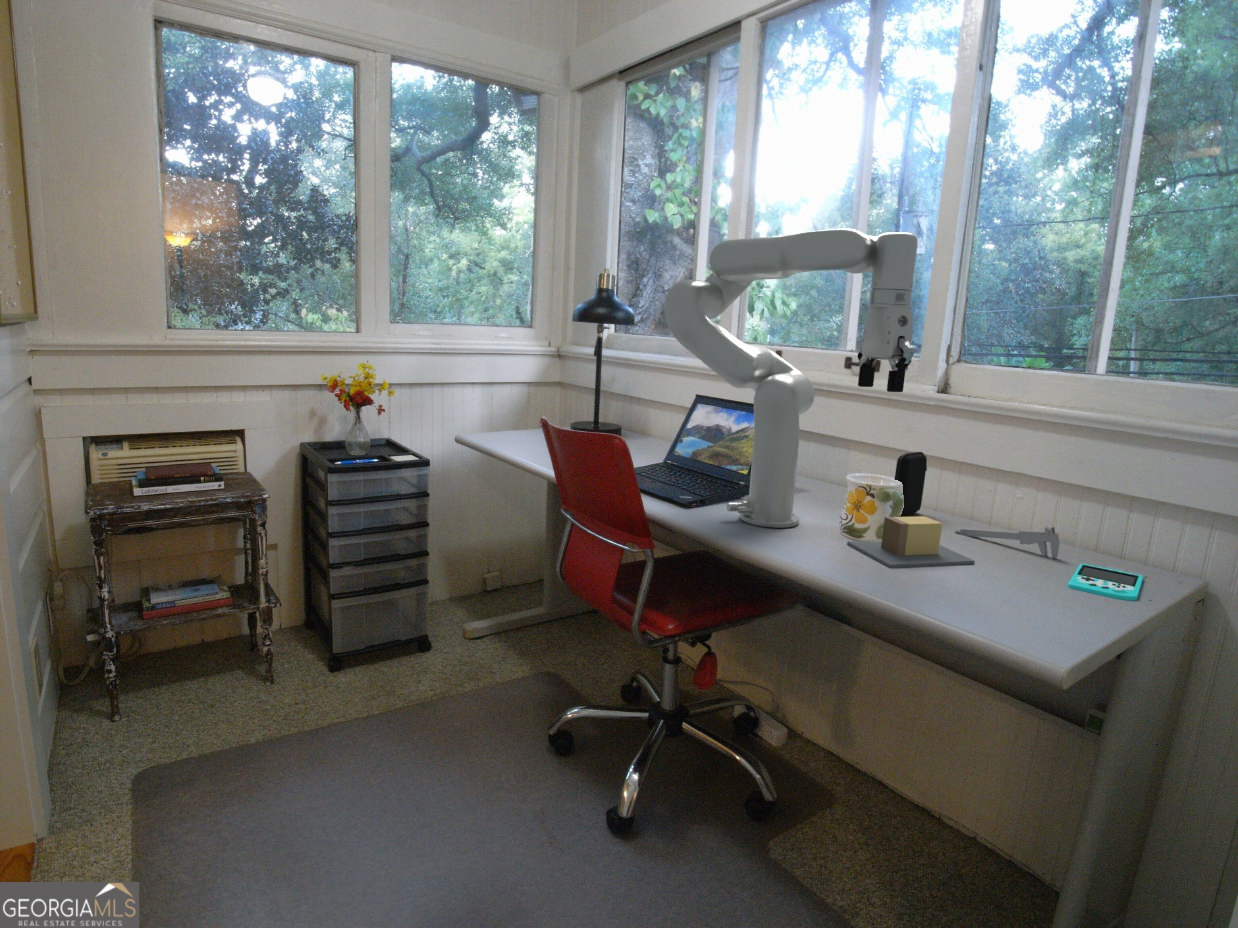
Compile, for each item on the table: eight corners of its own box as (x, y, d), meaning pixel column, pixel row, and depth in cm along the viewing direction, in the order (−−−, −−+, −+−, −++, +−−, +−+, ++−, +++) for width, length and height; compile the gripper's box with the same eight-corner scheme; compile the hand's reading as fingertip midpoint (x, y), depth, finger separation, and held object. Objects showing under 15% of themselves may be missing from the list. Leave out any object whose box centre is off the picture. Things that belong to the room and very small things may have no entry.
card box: (938, 554, 141) (942, 523, 140) (897, 555, 139) (901, 524, 137) (920, 546, 146) (924, 516, 145) (880, 547, 143) (884, 516, 142)
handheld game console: (1065, 589, 128) (1066, 582, 128) (1078, 568, 140) (1079, 561, 140) (1135, 605, 122) (1136, 597, 122) (1142, 581, 134) (1143, 574, 134)
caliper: (1057, 559, 144) (1062, 528, 143) (1054, 560, 144) (1059, 529, 142) (956, 533, 160) (960, 504, 159) (953, 533, 159) (957, 505, 158)
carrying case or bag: (913, 510, 177) (921, 449, 174) (925, 513, 175) (933, 452, 172) (887, 515, 171) (894, 452, 168) (898, 519, 169) (906, 455, 166)
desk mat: (890, 567, 133) (890, 564, 133) (847, 544, 147) (847, 541, 146) (974, 563, 138) (974, 560, 138) (925, 541, 151) (925, 538, 151)
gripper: (936, 300, 136) (924, 394, 139) (880, 301, 152) (870, 385, 155) (900, 298, 134) (889, 393, 137) (847, 299, 150) (838, 384, 153)
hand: (879, 389), depth 146 cm, fingers open, 9 cm apart
